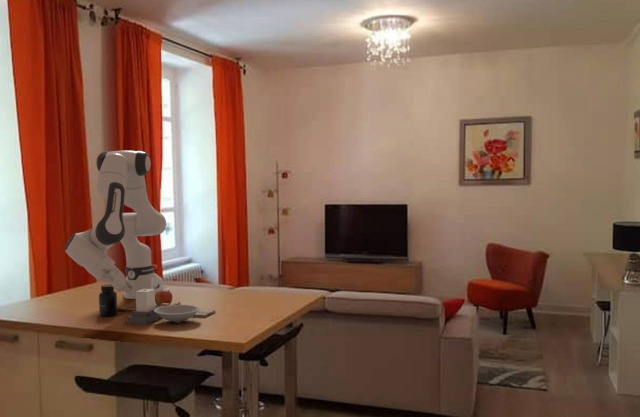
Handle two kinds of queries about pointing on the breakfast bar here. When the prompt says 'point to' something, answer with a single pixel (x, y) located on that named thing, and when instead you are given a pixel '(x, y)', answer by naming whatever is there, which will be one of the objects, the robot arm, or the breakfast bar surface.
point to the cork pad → (203, 313)
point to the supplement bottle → (107, 301)
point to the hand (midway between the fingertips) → (132, 291)
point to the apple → (163, 297)
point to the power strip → (145, 316)
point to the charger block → (145, 300)
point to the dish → (177, 312)
